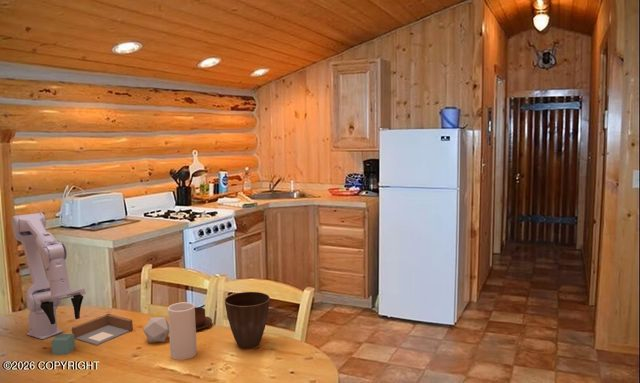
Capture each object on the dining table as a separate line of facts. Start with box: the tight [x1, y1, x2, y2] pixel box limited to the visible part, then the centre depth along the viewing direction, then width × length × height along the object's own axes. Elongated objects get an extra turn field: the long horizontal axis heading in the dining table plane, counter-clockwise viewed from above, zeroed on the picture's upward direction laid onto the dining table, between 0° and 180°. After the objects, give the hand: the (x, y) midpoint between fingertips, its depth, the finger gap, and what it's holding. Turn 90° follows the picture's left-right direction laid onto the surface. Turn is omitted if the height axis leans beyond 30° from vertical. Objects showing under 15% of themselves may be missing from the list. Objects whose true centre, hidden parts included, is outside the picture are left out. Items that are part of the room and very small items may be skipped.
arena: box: [71, 313, 134, 346], centre depth 184 cm, size 13×15×4 cm
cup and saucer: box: [195, 306, 213, 331], centre depth 190 cm, size 12×12×6 cm
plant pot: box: [224, 291, 271, 350], centre depth 173 cm, size 15×15×16 cm
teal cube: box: [51, 333, 76, 356], centre depth 170 cm, size 5×5×5 cm
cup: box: [167, 301, 198, 361], centre depth 166 cm, size 8×8×16 cm
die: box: [142, 316, 169, 343], centre depth 178 cm, size 8×9×10 cm
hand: (65, 321), depth 169 cm, fingers open, 7 cm apart
